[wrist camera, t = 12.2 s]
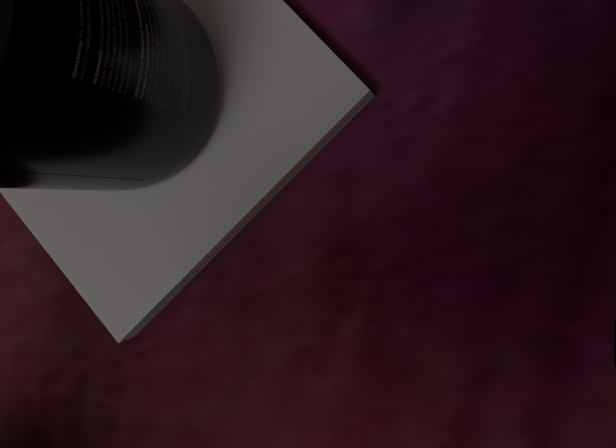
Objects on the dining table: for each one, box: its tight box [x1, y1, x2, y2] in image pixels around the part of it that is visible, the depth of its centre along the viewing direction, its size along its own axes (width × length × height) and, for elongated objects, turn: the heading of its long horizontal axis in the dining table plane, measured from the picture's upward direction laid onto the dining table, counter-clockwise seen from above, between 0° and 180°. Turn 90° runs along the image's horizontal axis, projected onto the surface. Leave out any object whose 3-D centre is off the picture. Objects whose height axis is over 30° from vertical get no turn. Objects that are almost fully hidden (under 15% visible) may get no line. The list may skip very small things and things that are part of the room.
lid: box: [0, 0, 375, 343], centre depth 19 cm, size 12×12×1 cm
